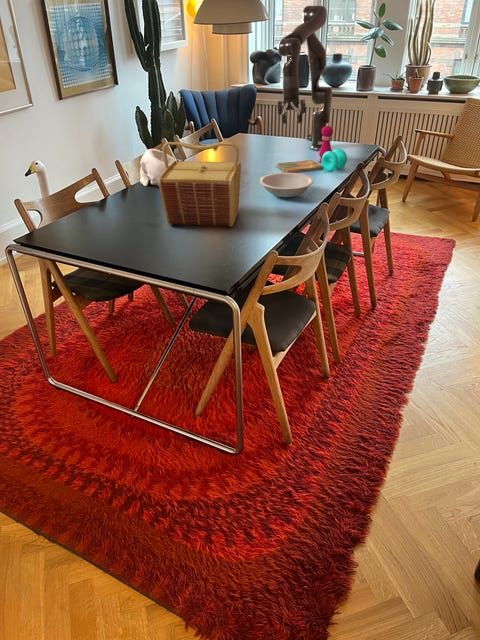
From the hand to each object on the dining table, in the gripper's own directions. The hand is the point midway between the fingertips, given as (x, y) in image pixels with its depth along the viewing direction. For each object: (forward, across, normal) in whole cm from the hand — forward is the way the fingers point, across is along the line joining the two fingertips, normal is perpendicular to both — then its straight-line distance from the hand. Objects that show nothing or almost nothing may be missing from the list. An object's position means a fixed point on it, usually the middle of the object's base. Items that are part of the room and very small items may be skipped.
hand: (292, 123), depth 235 cm
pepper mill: (+23, -6, -25) cm, 34 cm away
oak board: (+23, +1, -8) cm, 24 cm away
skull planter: (+21, +46, +52) cm, 72 cm away
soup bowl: (+27, -14, +32) cm, 44 cm away
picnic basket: (+27, -1, +76) cm, 80 cm away
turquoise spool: (+25, -16, -14) cm, 32 cm away
